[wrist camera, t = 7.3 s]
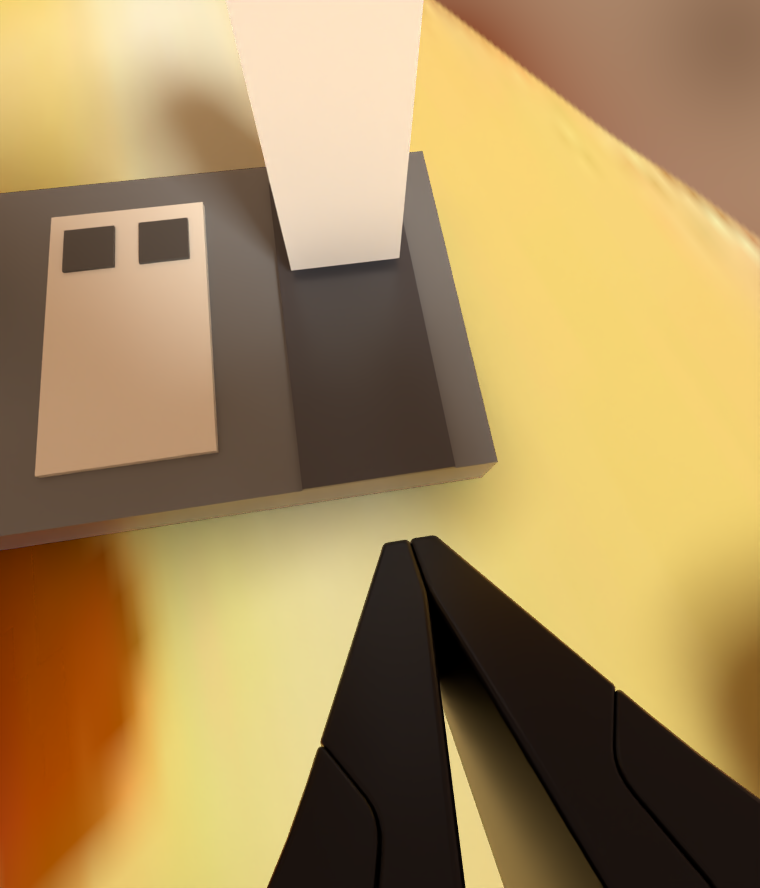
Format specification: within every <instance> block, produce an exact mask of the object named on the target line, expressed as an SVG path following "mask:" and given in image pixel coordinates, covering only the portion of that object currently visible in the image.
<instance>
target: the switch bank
mask: <svg viewBox="0 0 760 888" xmlns="http://www.w3.org/2000/svg"><path fill="white" fill-rule="evenodd" d="M497 462H498V461H497V457H496V453H495V449H494V445H493V441H492V436H491V432H490V428H489V424H488V420H487V416H486V412H485V407H484V403H483V399H482V395H481V391H480V387H479V383H478V379H477V374H476V370H475V366H474V362H473V358H472V354H471V350H470V346H469V341H468V337H467V333H466V329H465V325H464V321H463V317H462V313H461V308H460V304H459V300H458V296H457V292H456V288H455V284H454V280H453V275H452V271H451V267H450V263H449V259H448V255H447V251H446V246H445V242H444V238H443V234H442V230H441V226H440V222H439V218H438V213H437V209H436V205H435V201H434V197H433V193H432V189H431V185H430V180H429V176H428V172H427V168H426V164H425V160H424V156H423V152H422V151H419V152H409V160H408V170H407V181H406V192H405V202H404V213H403V224H402V234H401V245H400V256H399V258H395V259H387V260H378V261H370V262H361V263H352V264H344V265H335V266H327V267H318V268H309V269H301V270H292V271H291V267H290V263H289V259H288V255H287V251H286V247H285V242H284V238H283V234H282V230H281V226H280V222H279V218H278V214H277V210H276V206H275V201H274V197H273V193H272V189H271V185H270V181H269V177H268V173H267V169H266V167H259V168H249V169H239V170H229V171H219V172H209V173H199V174H189V175H179V176H169V177H159V178H149V179H139V180H129V181H119V182H109V183H99V184H89V185H79V186H69V187H59V188H49V189H39V190H29V191H19V192H9V193H0V550H6V549H13V548H19V547H26V546H33V545H39V544H46V543H52V542H59V541H65V540H72V539H79V538H85V537H92V536H98V535H105V534H112V533H118V532H125V531H131V530H138V529H144V528H151V527H158V526H164V525H171V524H177V523H184V522H191V521H197V520H204V519H210V518H217V517H223V516H230V515H237V514H243V513H250V512H256V511H263V510H270V509H276V508H283V507H289V506H296V505H302V504H309V503H316V502H322V501H329V500H335V499H342V498H348V497H355V496H362V495H368V494H375V493H381V492H388V491H395V490H401V489H408V488H414V487H421V486H427V485H434V484H441V483H447V482H454V481H460V480H467V479H474V478H480V477H482V476H483V475H484V474H485V473H486V472H488V471H489V470H490V469H491V468H492V467H493V466H494V465H495V464H496V463H497Z"/></svg>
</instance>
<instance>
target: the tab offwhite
mask: <svg viewBox="0 0 760 888" xmlns="http://www.w3.org/2000/svg"><path fill="white" fill-rule="evenodd" d="M225 1H226V5H227V9H228V13H229V17H230V21H231V25H232V29H233V33H234V38H235V42H236V46H237V50H238V54H239V58H240V62H241V66H242V70H243V74H244V79H245V83H246V87H247V91H248V95H249V99H250V103H251V107H252V111H253V115H254V120H255V124H256V128H257V132H258V136H259V140H260V144H261V148H262V152H263V156H264V161H265V165H266V169H267V173H268V177H269V181H270V185H271V189H272V193H273V197H274V201H275V206H276V210H277V214H278V218H279V222H280V226H281V230H282V234H283V238H284V242H285V247H286V251H287V255H288V259H289V263H290V267H291V271H292V270H301V269H309V268H318V267H327V266H335V265H344V264H352V263H361V262H370V261H378V260H387V259H395V258H399V256H400V245H401V234H402V224H403V213H404V202H405V192H406V181H407V170H408V160H409V149H410V138H411V128H412V117H413V106H414V96H415V85H416V75H417V64H418V53H419V43H420V32H421V21H422V11H423V0H225Z"/></svg>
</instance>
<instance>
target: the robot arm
mask: <svg viewBox="0 0 760 888" xmlns="http://www.w3.org/2000/svg"><path fill="white" fill-rule="evenodd" d="M443 709H444V712H445V715H446V718H447V721H448V724H449V727H450V730H451V733H452V736H453V739H454V742H455V745H456V747H457V750H458V753H459V756H460V759H461V762H462V765H463V768H464V771H465V774H466V777H467V780H468V783H469V786H470V789H471V791H472V794H473V797H474V800H475V803H476V806H477V809H478V812H479V815H480V818H481V821H482V824H483V827H484V830H485V833H486V835H487V838H488V841H489V844H490V847H491V850H492V853H493V856H494V859H495V862H496V865H497V868H498V871H499V874H500V877H501V879H502V882H503V885H504V888H760V799H759V798H758V797H757V796H755V795H754V794H752V793H751V792H750V791H748V790H747V789H746V788H744V787H743V786H742V785H740V784H739V783H738V782H736V781H735V780H734V779H732V778H731V777H730V776H728V775H727V774H726V773H724V772H723V771H721V770H720V769H719V768H717V767H716V766H715V765H713V764H712V763H711V762H709V761H708V760H707V759H705V758H704V757H703V756H701V755H700V754H699V753H697V752H696V751H695V750H694V749H692V748H691V747H690V746H689V745H687V744H686V743H685V742H684V741H682V740H681V739H680V738H679V737H677V736H676V735H675V734H674V733H672V732H671V731H670V730H669V729H667V728H666V727H665V726H664V725H662V724H661V723H660V722H659V721H657V720H656V719H655V718H654V717H652V716H651V715H650V714H649V713H648V712H646V711H645V710H644V709H643V708H642V707H640V706H639V705H638V704H637V703H636V702H634V701H633V700H632V699H631V698H630V697H628V696H627V695H626V694H625V693H624V692H622V691H621V690H617V691H616V692H615V686H614V684H613V683H611V682H610V681H609V680H608V679H607V678H605V677H604V676H603V675H602V674H601V673H599V672H598V671H597V670H596V669H595V668H593V667H592V666H591V665H590V664H589V663H587V662H586V661H585V660H584V659H583V658H581V657H580V656H579V655H578V654H577V653H575V652H574V651H573V650H572V649H571V648H569V647H568V646H567V645H566V644H565V643H564V642H562V641H561V640H560V639H559V638H558V637H556V636H555V635H554V634H553V633H552V632H550V631H549V630H548V629H547V628H546V627H544V626H543V625H542V624H541V623H540V622H538V621H537V620H536V619H535V618H534V617H532V616H531V615H530V614H529V613H528V612H526V611H525V610H524V609H523V608H522V607H521V606H519V605H518V604H517V603H516V602H515V601H513V600H512V599H511V598H510V597H509V596H507V595H506V594H505V593H504V592H503V591H501V590H500V589H499V588H498V587H497V586H495V585H494V584H493V583H492V582H491V581H489V580H488V579H487V578H486V577H485V576H483V575H482V574H481V573H480V572H479V571H477V570H476V569H475V568H474V567H473V566H472V565H470V564H469V563H468V562H467V561H466V560H464V559H463V558H462V557H461V556H460V555H458V554H457V553H456V552H455V551H454V550H452V549H451V548H450V547H449V546H448V545H446V544H445V543H444V542H443V541H442V540H440V539H439V538H438V537H436V536H426V537H419V538H414V539H412V540H411V542H409V541H407V540H401V541H394V542H388V543H385V544H384V545H383V547H382V550H381V553H380V556H379V560H378V563H377V566H376V569H375V572H374V575H373V578H372V581H371V585H370V588H369V591H368V594H367V597H366V600H365V603H364V606H363V610H362V613H361V616H360V619H359V622H358V625H357V628H356V631H355V635H354V638H353V641H352V644H351V647H350V650H349V653H348V656H347V660H346V663H345V666H344V669H343V672H342V675H341V678H340V681H339V685H338V688H337V691H336V694H335V697H334V700H333V703H332V706H331V710H330V713H329V716H328V719H327V722H326V725H325V728H324V731H323V735H322V738H321V747H319V748H318V749H317V752H316V755H315V758H314V762H313V765H312V768H311V771H310V774H309V777H308V780H307V783H306V786H305V789H304V792H303V795H302V798H301V800H300V803H299V806H298V809H297V812H296V815H295V817H294V820H293V823H292V826H291V829H290V832H289V834H288V837H287V840H286V842H285V845H284V847H283V850H282V852H281V855H280V857H279V860H278V862H277V865H276V867H275V869H274V872H273V874H272V877H271V879H270V882H269V884H268V887H267V888H465V880H464V872H463V864H462V856H461V848H460V841H459V833H458V825H457V817H456V809H455V801H454V793H453V785H452V777H451V769H450V761H449V753H448V745H447V737H446V729H445V721H444V713H443Z"/></svg>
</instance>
